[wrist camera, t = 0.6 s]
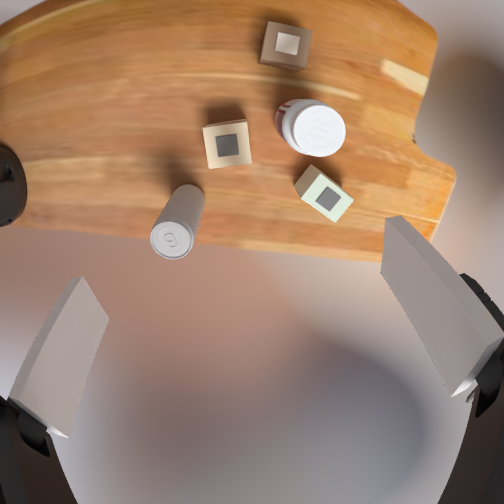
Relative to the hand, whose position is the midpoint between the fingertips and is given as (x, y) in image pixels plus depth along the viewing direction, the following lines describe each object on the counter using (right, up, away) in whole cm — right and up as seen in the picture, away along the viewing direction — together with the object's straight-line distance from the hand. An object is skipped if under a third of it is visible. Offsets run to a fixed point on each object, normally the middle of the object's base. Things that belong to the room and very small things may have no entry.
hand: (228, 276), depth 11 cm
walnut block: (+5, +26, +17) cm, 31 cm away
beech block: (-2, +16, +23) cm, 28 cm away
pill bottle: (+7, +18, +22) cm, 29 cm away
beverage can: (-8, +9, +27) cm, 30 cm away
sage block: (+10, +10, +27) cm, 31 cm away
